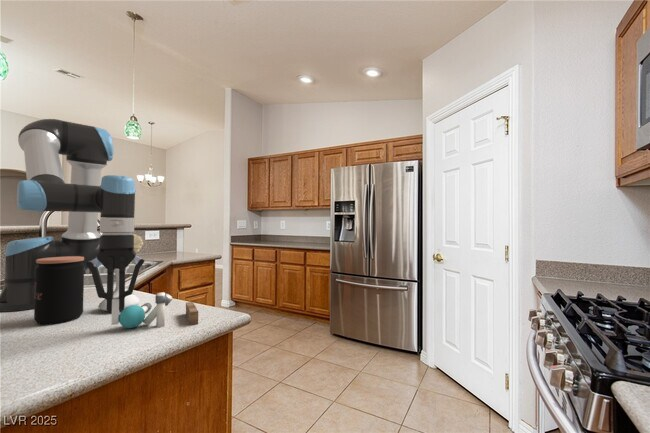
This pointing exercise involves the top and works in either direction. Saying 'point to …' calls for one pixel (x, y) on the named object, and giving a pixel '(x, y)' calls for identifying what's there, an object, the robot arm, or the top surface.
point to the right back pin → (160, 309)
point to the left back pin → (146, 307)
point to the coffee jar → (58, 289)
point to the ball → (132, 316)
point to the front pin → (153, 313)
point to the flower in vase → (128, 299)
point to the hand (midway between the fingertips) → (115, 322)
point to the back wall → (192, 313)
